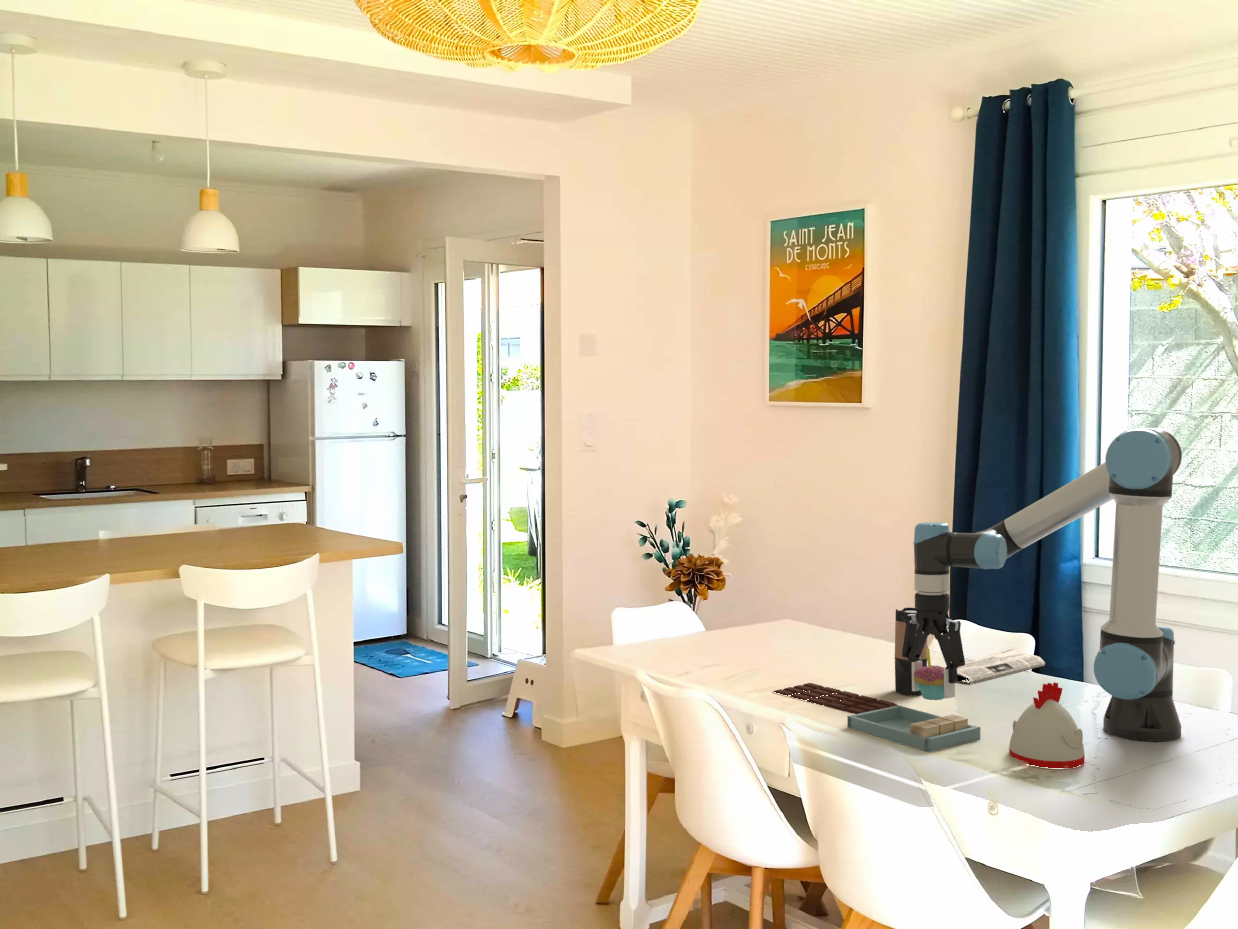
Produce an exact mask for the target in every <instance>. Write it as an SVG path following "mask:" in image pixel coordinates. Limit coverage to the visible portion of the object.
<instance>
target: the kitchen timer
mask: <svg viewBox="0 0 1238 929" xmlns="http://www.w3.org/2000/svg"><path fill="white" fill-rule="evenodd" d="M1041 689H1042V690H1040V689H1039V690H1037V697H1032V699H1033V702H1032V703H1031V704H1029V706H1028V707H1027V708H1025V710H1024V711H1022V713H1021V714H1020V716H1019V717H1018V719H1017V720H1013V722H1012V731H1013V732H1012V733H1011V737H1010V739H1009V746H1008V748H1009V749H1008V751H1009V752H1008V753H1009V756H1011V757H1012V758H1013V759H1016V760H1018V761H1020V762H1023V763H1024V762H1025V763H1026V764H1029V765H1035V766H1039V767H1048V768H1073V767H1077V766H1079V765H1082V764H1083V763H1084V764H1085V755H1086V754H1085V748H1084V747H1085V746H1084V743H1083V742H1084V741H1083V739H1084V738H1083V736H1084V735H1083V730H1082V729H1081V728H1079V727H1078V726H1077V723H1076V721H1075V720H1074V718H1073V717H1072V715H1071V713H1070V712H1069V711H1068V710H1067V709H1066V708H1065V707H1064V706H1063V705H1062V704H1061V703H1059V702H1060V700H1061V696H1062V693H1063V688H1062V687H1059V683H1058V682H1053V683H1051V682H1047V683H1042V688H1041ZM1084 764H1083V765H1084ZM1073 769H1074V768H1073Z"/></svg>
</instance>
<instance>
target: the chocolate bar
mask: <svg viewBox="0 0 1238 929" xmlns="http://www.w3.org/2000/svg"><path fill="white" fill-rule="evenodd" d="M803 690H804V691H803ZM805 691H806V692H805ZM809 691H810V692H809ZM772 692H776V693H780V694H783V695H787V696H788V695H791V697H794V698H798V699H803V700H807V699H809V700H807V703H810V702H811V704H814V703H816V704H815V705H818V704H819V705H818V706H822V705H824V706H823V707H826V706H827V708H829V707H830V709H833V708H834V709H835V710H837V709H838V711H841V710H842V712H845V711H846V713H850V714H853V713H854V714H853V715H855V714H860V713H865V712H869V711H874V710H879V709H884V708H888V707H893V706H898V704H897V703H895V702H892V701H888V700H885V699H877V698H876V697H870V696H867V695H859V694H858V693H854V692H850V691H847V690H841V689H837V688H832V687H828V686H823V685H820V684H817V683H812V682H807V683H804V684H798V685H794V686H793V687H792V686H789V687H785V688H783V689H782V688H781V689H775V690H773V691H772ZM795 693H796V694H795ZM798 693H800V694H798ZM832 693H834V694H832ZM836 693H837V694H836ZM792 694H793V695H792ZM783 695H782V696H783ZM822 695H824V696H822ZM826 695H828V696H826ZM787 696H786V697H787ZM820 696H821V697H820ZM791 697H790V698H791ZM811 697H812V698H811ZM816 697H818V698H816ZM794 698H793V699H794ZM798 699H797V700H798ZM840 700H841V701H840Z"/></svg>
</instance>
